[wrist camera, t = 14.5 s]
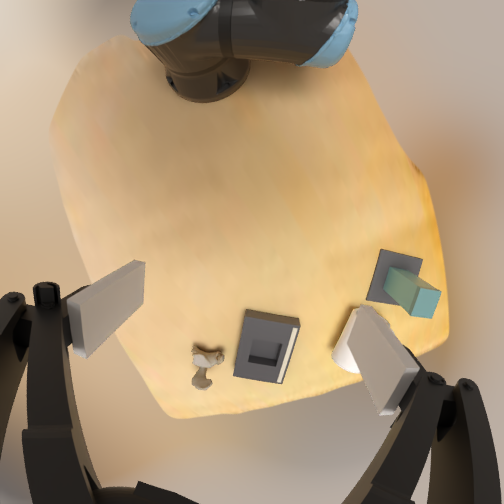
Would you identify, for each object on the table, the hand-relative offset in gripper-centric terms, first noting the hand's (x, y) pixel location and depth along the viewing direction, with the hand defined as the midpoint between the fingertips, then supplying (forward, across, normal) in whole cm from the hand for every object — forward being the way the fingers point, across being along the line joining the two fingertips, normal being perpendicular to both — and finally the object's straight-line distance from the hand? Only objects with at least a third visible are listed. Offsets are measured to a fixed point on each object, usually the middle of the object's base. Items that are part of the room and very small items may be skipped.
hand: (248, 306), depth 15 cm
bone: (+32, -6, -27) cm, 42 cm away
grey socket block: (+32, +5, -22) cm, 39 cm away
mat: (+32, +27, -4) cm, 42 cm away
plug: (+31, +27, -4) cm, 42 cm away
